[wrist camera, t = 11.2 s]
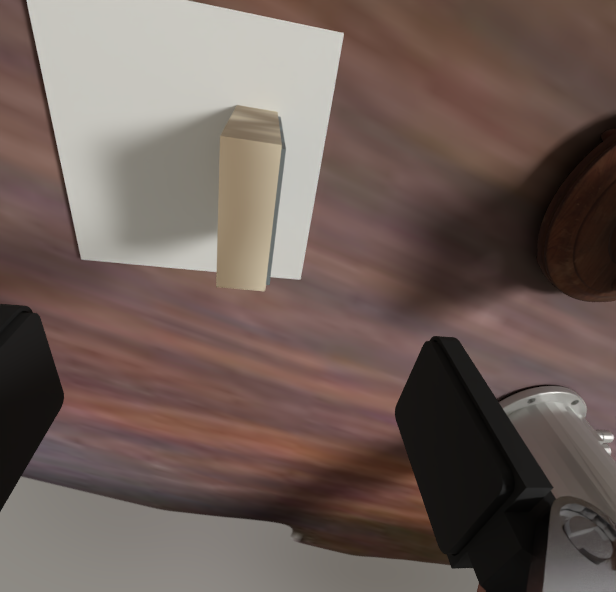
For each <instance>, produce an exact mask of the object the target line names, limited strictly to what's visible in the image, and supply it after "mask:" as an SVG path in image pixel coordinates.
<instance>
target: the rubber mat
mask: <svg viewBox="0 0 616 592" xmlns="http://www.w3.org/2000/svg"><path fill="white" fill-rule="evenodd" d="M26 1H27V5H28V10H29V15H30V19H31V24H32V29H33V34H34V38H35V43H36V48H37V53H38V57H39V62H40V67H41V72H42V76H43V81H44V86H45V90H46V95H47V100H48V105H49V109H50V114H51V119H52V124H53V128H54V133H55V138H56V143H57V147H58V152H59V157H60V161H61V166H62V171H63V176H64V180H65V185H66V190H67V195H68V199H69V204H70V209H71V213H72V218H73V223H74V228H75V232H76V237H77V242H78V247H79V251H80V256H81V260H92V261H103V262H114V263H125V264H136V265H147V266H157V267H168V268H179V269H190V270H201V271H212V272H217V235H218V195H219V155H220V135H221V133H222V131H223V129H224V128H225V126H226V124H227V122H228V120H229V119H230V117H231V115H232V113H233V111H234V110H235V108H236V106H237V105H240V106H246V107H252V108H258V109H264V110H270V111H276V112H278V116H279V117H281V122H282V128H283V134H284V140H285V146H286V153H285V162H284V170H283V178H282V186H281V194H280V203H279V211H278V219H277V227H276V235H275V244H274V252H273V260H272V268H271V276H270V277H277V278H288V279H299V280H300V279H301V274H302V268H303V262H304V257H305V251H306V245H307V240H308V234H309V228H310V223H311V217H312V211H313V206H314V200H315V194H316V189H317V183H318V177H319V172H320V166H321V160H322V155H323V149H324V143H325V138H326V132H327V126H328V121H329V115H330V109H331V104H332V98H333V93H334V87H335V81H336V76H337V70H338V64H339V59H340V53H341V47H342V42H343V36H344V33H340V32H336V31H331V30H326V29H321V28H317V27H312V26H307V25H302V24H297V23H293V22H288V21H283V20H278V19H274V18H269V17H264V16H259V15H254V14H250V13H245V12H240V11H235V10H231V9H226V8H221V7H216V6H211V5H207V4H202V3H197V2H192V1H188V0H26Z"/></svg>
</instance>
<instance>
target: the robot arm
mask: <svg viewBox="0 0 616 592" xmlns="http://www.w3.org/2000/svg"><path fill="white" fill-rule="evenodd" d="M63 400H64V393H63V389H62V386H61V383H60V379H59V376H58V373H57V370H56V367H55V363H54V360H53V357H52V354H51V351H50V347H49V344H48V341H47V338H46V334H45V331H44V328H43V325H42V322H41V318H40V316H39V315H38V314H37V313H33V312H32V310H31V309H30V308H29V307H27V306H20V305H7V304H0V511H1V509H2V508H3V506H4V504H5V503H6V501H7V499H8V498H9V496H10V494H11V492H12V491H13V489H14V487H15V486H16V484H17V482H18V480H19V479H20V477H21V475H22V474H23V472H24V470H25V469H26V467H27V465H28V463H29V462H30V460H31V458H32V457H33V455H34V453H35V452H36V450H37V448H38V446H39V445H40V443H41V441H42V440H43V438H44V436H45V434H46V433H47V431H48V429H49V428H50V426H51V424H52V423H53V421H54V419H55V417H56V416H57V414H58V412H59V411H60V409H61V407H62V404H63ZM586 412H587V407H586V403H585V402H584V401H583V399H582V398H581V397H580V396H579V395H578V394H577V393H576V392H575V391H573V390H571V389H569V388H565V387H561V386H543V387H536V388H531V389H527V390H524V391H521V392H518V393H516V394H514V395H511V396H509V397H507V398H505V399H504V400H502V401H500V402H498V401H497V399H496V397H495V396H494V394H493V393H492V391H491V390H490V388H489V387H488V385H487V383H486V382H485V380H484V379H483V377H482V376H481V374H480V373H479V371H478V369H477V368H476V366H475V365H474V363H473V362H472V360H471V359H470V357H469V355H468V354H467V352H466V351H465V349H464V348H463V346H462V345H461V343H460V342H459V340H458V339H456V338H453V337H440V336H434V337H432V338H431V339H430V341H426V342H425V343H424V345H423V347H422V349H421V351H420V354H419V356H418V358H417V360H416V362H415V365H414V367H413V369H412V371H411V374H410V376H409V378H408V380H407V383H406V385H405V387H404V389H403V391H402V394H401V396H400V398H399V400H398V403H397V405H396V408H395V418H396V421H397V424H398V427H399V430H400V433H401V436H402V439H403V442H404V445H405V448H406V451H407V454H408V457H409V460H410V463H411V466H412V469H413V472H414V475H415V478H416V481H417V484H418V487H419V490H420V493H421V496H422V499H423V502H424V505H425V508H426V511H427V514H428V517H429V520H430V523H431V525H432V528H433V531H434V534H435V537H436V540H437V543H438V546H439V548H440V550H441V551H442V552H443V553H444V554H447V556H448V559H449V562H450V565H451V568H474V571H475V573H476V576H477V579H478V581H479V585H478V589H477V592H616V462H615V461H614V459H613V458H612V457H611V456H610V455H611V449H610V447H609V445H608V444H607V443H610V442H612V441H613V435H612V433H611V432H610V431H608V430H594V429H593V428H592V427H591V425H590V424H589V423H588V422H587V421H586V420H585V417H586Z"/></svg>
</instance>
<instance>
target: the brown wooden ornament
mask: <svg viewBox="0 0 616 592" xmlns="http://www.w3.org/2000/svg"><path fill="white" fill-rule="evenodd" d="M601 138H602V140H603V142H602V143H601V144H599V145H598V146H597V147H596V148H595V149H594V150H592V151H591V152H590V153H589V154H588V155H587V156H586V157H585V158H584V159H583V160H582V161H581V162H580V163H579V164H578V165H577V166H576V167H575V169H574V170H573V171H572V172H571V173H570V174H569V176H568V177H567V178H566V180H565V181H564V182H563V184H562V185H561V186H560V188H559V189H558V191H557V193H556V194H555V196H554V197H553V199H552V201H551V203H550V205H549V207H548V209H547V211H546V213H545V216H544V218H543V221H542V224H541V228H540V231H539V237H538V246H537V252H538V256H537V262H538V264H539V265H540V267H541V270H542V272H543V273H544V275H545V277H546V278H547V279H548V280H549V281H550V282H551V283H552V284H553V285H554V286H555V287H557V288H558V289H559V290H560V291H561V292H563V293H564V294H566V295H568V296H570V297H572V298H575V299H578V300H582V301H588V302H608V301H615V300H616V129H610V130H607V131H605V132H603V134H602V136H601Z"/></svg>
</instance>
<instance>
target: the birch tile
mask: <svg viewBox="0 0 616 592" xmlns="http://www.w3.org/2000/svg"><path fill="white" fill-rule="evenodd" d="M285 153H286V146H285V140H284V134H283V128H282V122H281V117H279V116H278V112H276V111H270V110H264V109H258V108H252V107H246V106H240V105H237V106H236V108H235V110H234V111H233V113H232V115H231V117H230V119H229V120H228V122H227V124H226V126H225V128H224V129H223V131H222V133H221V135H220V155H219V195H218V235H217V275H216V287H222V288H233V289H245V290H257V291H265V287H266V285H270V276H271V268H272V260H273V252H274V244H275V235H276V227H277V219H278V211H279V203H280V194H281V186H282V178H283V170H284V162H285Z"/></svg>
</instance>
